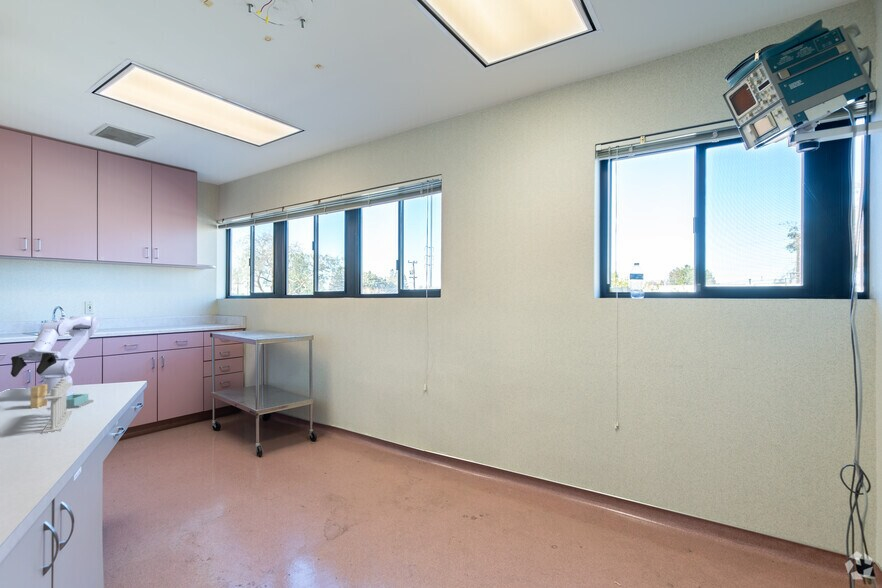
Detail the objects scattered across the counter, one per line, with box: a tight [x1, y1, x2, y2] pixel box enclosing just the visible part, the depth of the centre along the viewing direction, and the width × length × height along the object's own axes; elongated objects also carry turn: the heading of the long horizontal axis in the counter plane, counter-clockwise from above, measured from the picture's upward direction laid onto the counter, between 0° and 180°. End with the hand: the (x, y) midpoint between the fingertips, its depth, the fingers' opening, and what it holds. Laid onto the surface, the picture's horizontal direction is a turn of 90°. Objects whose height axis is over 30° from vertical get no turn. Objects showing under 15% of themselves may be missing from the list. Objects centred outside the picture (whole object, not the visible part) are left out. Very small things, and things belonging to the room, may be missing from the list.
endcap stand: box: [66, 393, 94, 409], centre depth 158 cm, size 9×9×3 cm
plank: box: [30, 384, 48, 409], centre depth 155 cm, size 5×2×8 cm, turn 13°
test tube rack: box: [41, 379, 74, 434], centre depth 137 cm, size 25×4×13 cm, turn 36°
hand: (25, 373), depth 150 cm, fingers open, 7 cm apart
